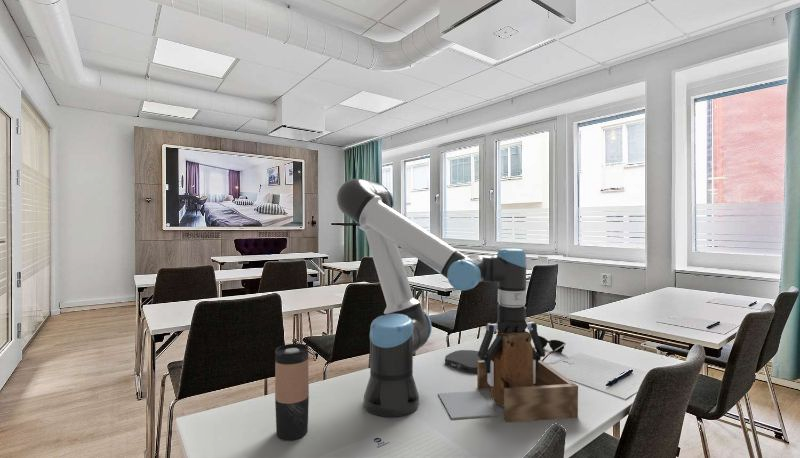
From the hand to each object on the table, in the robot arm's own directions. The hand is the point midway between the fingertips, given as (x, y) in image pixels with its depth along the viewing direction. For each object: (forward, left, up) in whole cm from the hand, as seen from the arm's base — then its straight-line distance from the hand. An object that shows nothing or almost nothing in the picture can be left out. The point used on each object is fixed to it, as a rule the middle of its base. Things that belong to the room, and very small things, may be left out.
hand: (511, 383), depth 107 cm
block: (0, 0, -5) cm, 5 cm away
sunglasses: (+27, +35, -6) cm, 45 cm away
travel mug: (-58, -7, -5) cm, 59 cm away
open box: (+4, 0, -5) cm, 7 cm away
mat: (-13, 0, -5) cm, 14 cm away
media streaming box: (-2, +30, -6) cm, 30 cm away
